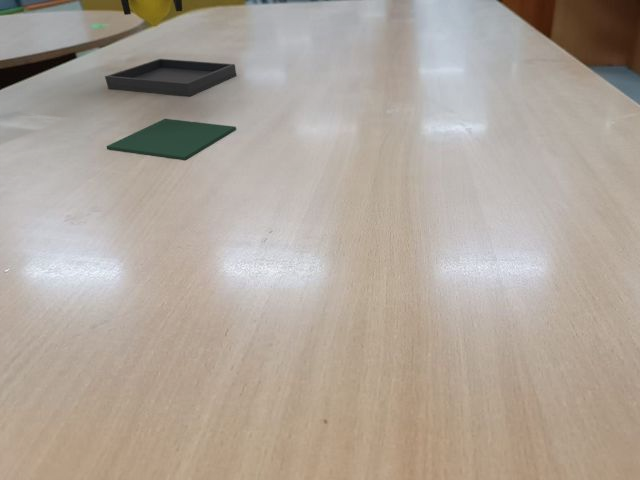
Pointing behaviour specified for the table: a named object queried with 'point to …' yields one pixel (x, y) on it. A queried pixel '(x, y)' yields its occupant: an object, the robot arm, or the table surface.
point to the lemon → (151, 9)
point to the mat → (172, 138)
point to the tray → (171, 77)
